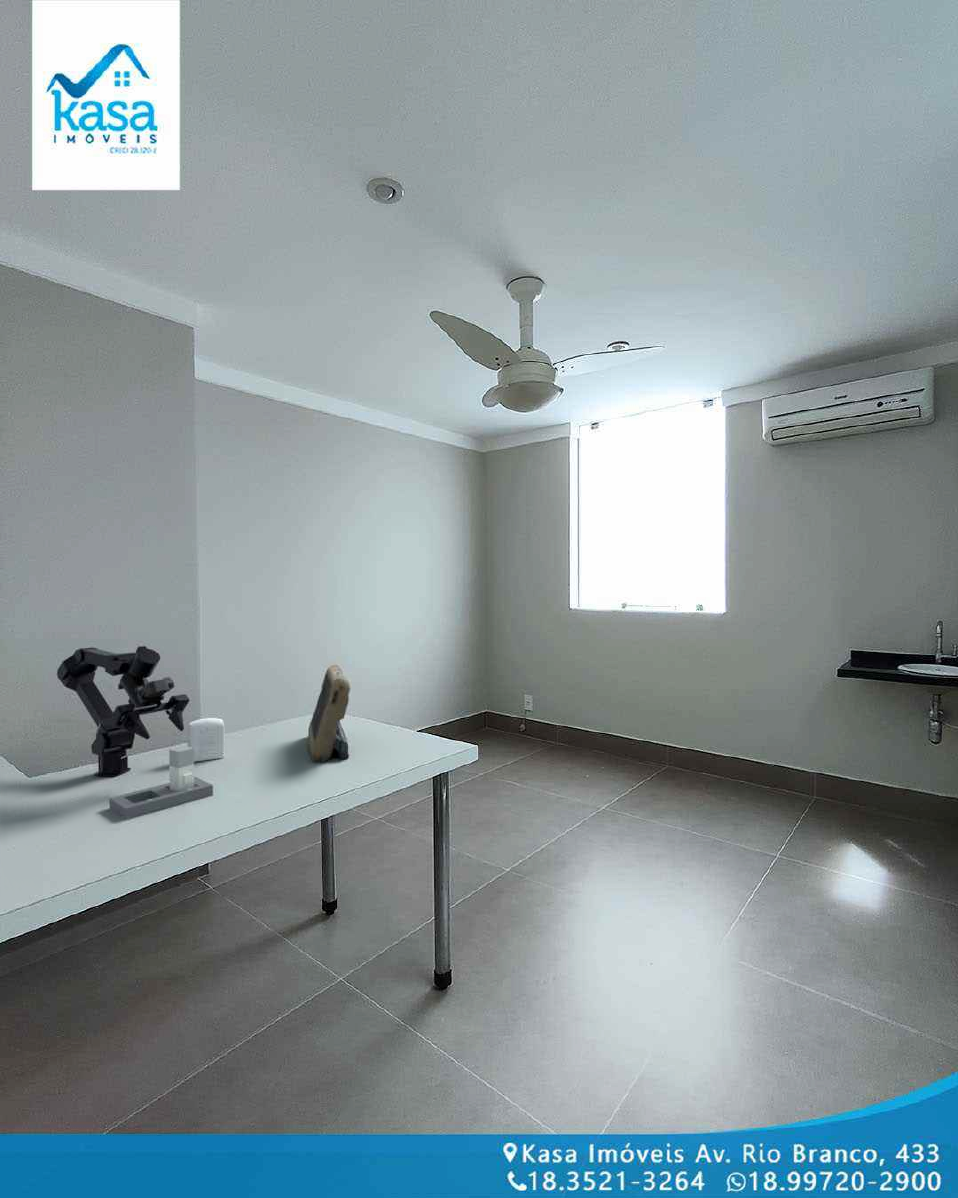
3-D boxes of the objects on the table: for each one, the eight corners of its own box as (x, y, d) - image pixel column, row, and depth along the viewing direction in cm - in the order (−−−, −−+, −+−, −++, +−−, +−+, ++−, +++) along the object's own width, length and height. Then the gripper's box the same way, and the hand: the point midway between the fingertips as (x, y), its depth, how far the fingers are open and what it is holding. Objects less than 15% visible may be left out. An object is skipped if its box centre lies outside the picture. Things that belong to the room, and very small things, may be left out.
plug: (169, 797, 147) (169, 749, 146) (184, 792, 150) (184, 745, 150) (181, 801, 144) (180, 752, 144) (196, 796, 148) (195, 748, 147)
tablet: (300, 737, 204) (300, 665, 203) (341, 733, 209) (340, 663, 208) (312, 764, 173) (311, 680, 173) (359, 759, 179) (359, 677, 178)
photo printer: (223, 754, 183) (222, 715, 182) (225, 758, 179) (225, 717, 179) (186, 760, 177) (186, 719, 176) (188, 763, 173) (188, 722, 173)
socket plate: (109, 808, 139) (109, 797, 139) (194, 785, 155) (194, 775, 155) (125, 819, 133) (125, 807, 133) (212, 794, 149) (212, 784, 148)
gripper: (113, 673, 146) (141, 721, 141) (183, 664, 163) (211, 706, 157) (98, 703, 150) (124, 750, 145) (167, 692, 166) (194, 733, 161)
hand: (166, 734), depth 152 cm, fingers open, 9 cm apart
